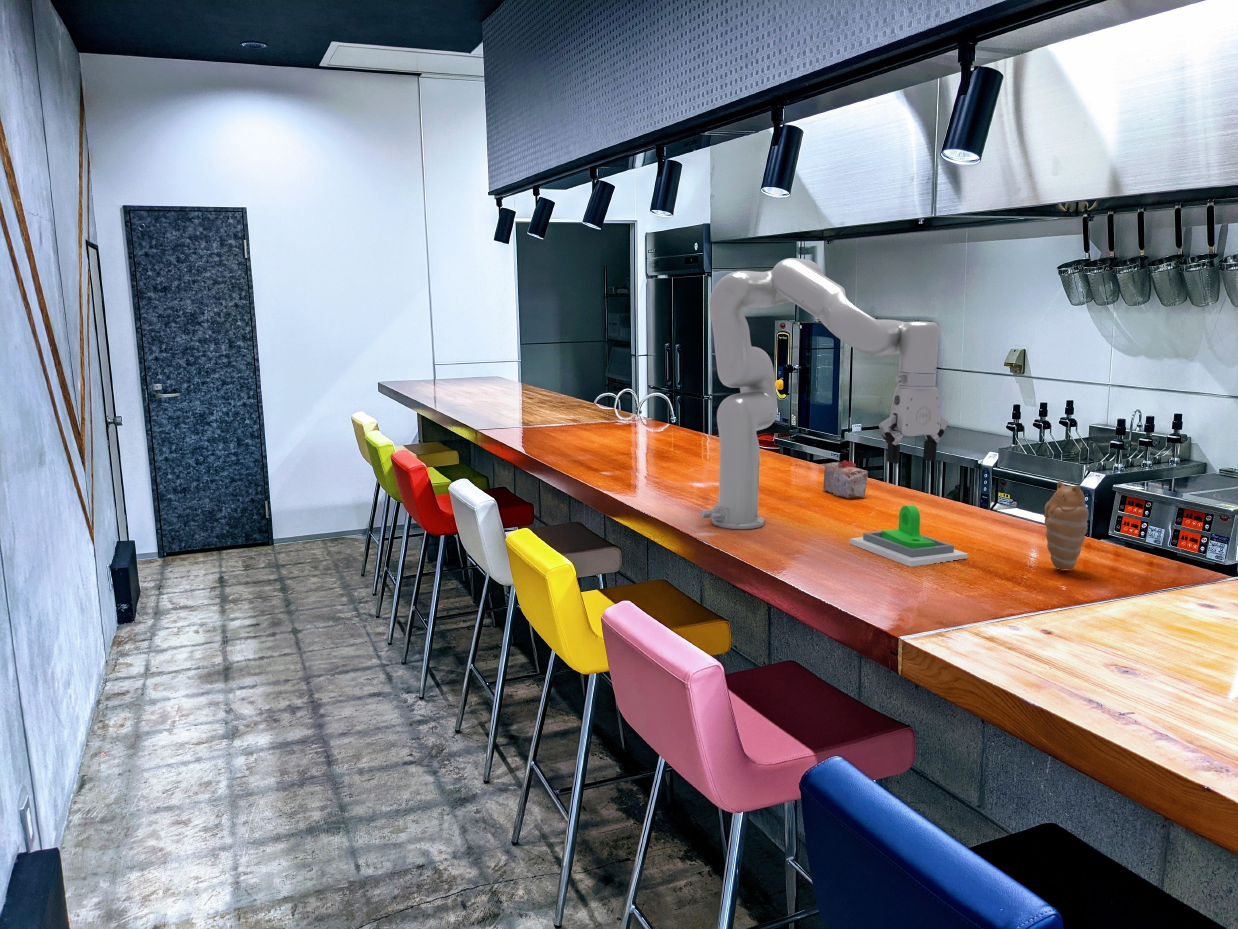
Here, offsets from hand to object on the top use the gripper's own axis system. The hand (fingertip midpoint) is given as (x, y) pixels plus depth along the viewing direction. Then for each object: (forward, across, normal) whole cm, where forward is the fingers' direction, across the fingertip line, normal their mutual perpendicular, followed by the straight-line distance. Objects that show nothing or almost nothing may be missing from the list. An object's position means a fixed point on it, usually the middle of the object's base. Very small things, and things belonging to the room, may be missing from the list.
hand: (911, 461), depth 198 cm
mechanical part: (+19, +1, 0) cm, 19 cm away
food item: (+20, +25, +55) cm, 64 cm away
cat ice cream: (+20, +19, -24) cm, 37 cm away
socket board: (+20, 0, 0) cm, 20 cm away
